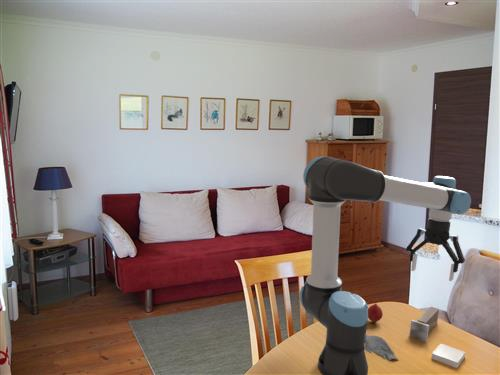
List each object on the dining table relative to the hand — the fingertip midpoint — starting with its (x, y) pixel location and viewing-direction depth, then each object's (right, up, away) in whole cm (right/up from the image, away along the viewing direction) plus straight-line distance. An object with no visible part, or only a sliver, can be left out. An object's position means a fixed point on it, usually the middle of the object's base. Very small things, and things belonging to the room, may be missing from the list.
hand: (431, 275), depth 165 cm
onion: (-20, -20, +7) cm, 29 cm away
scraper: (-1, -21, +3) cm, 22 cm away
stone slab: (-24, -23, -11) cm, 35 cm away
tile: (+2, -23, -13) cm, 27 cm away
